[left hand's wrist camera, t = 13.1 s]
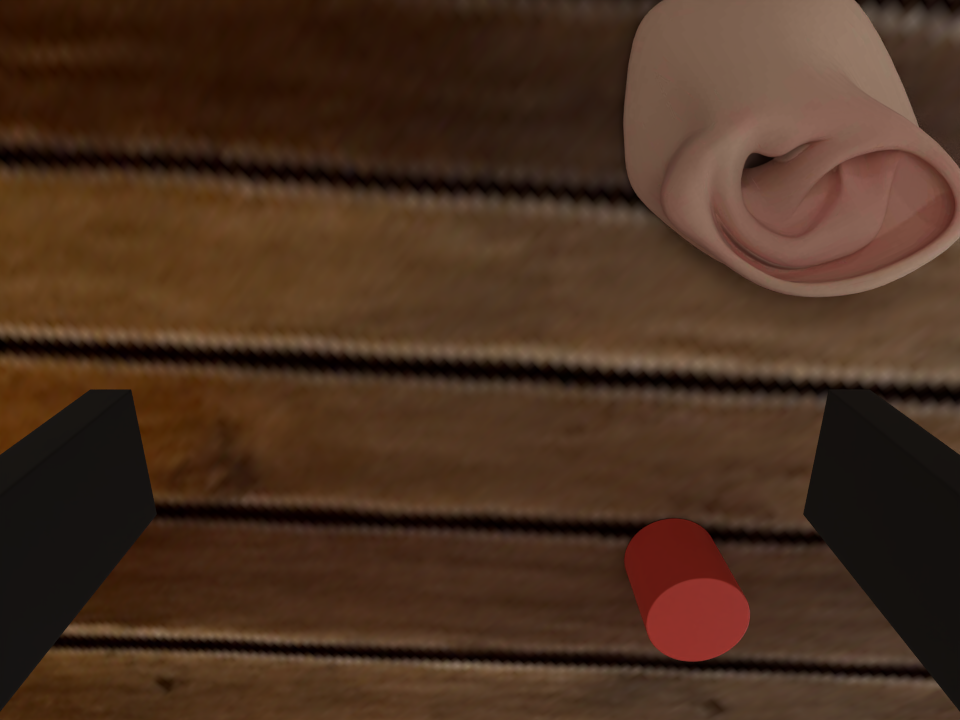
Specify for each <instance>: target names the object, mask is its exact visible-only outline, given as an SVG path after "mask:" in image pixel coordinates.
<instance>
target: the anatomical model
mask: <svg viewBox="0 0 960 720" xmlns="http://www.w3.org/2000/svg"><path fill="white" fill-rule="evenodd" d="M623 129H624V149H625V163H626V170H627V174H628V178H629V181H630V183H631V186H632V188H633V190H634V191H635V193H636V194H637V196H638V197H639V198H640V199H641V201H642V202H643V203H644V204H645V205H646V206H647V207H648V208H649V209H650V210H651V211H652V212H653V213H654V214H655V215H656V216H658V217H659V218H660V219H661V220H662V221H663V222H664V223H665V224H667V225H668V226H669V227H670V228H672V229H673V230H674V231H675V232H677V233H678V234H679V235H680V236H682V237H683V238H684V239H685V240H687V241H688V242H690V243H691V244H692V245H694V246H695V247H696V248H698V249H699V250H701V251H702V252H704V253H705V254H707V255H709V256H710V257H712V258H713V259H715V260H717V261H719V262H721V263H723V264H725V265H726V266H728V267H729V268H730V269H732V270H733V271H735V272H736V273H738V274H740V275H741V276H743V277H744V278H746V279H748V280H749V281H751V282H753V283H755V284H757V285H759V286H762V287H764V288H766V289H769V290H772V291H775V292H778V293H783V294H787V295H793V296H802V297H831V296H841V295H848V294H854V293H859V292H863V291H867V290H871V289H874V288H877V287H880V286H883V285H885V284H888V283H890V282H892V281H894V280H897V279H899V278H901V277H903V276H905V275H907V274H909V273H911V272H913V271H915V270H916V269H918V268H920V267H921V266H923V265H925V264H926V263H928V262H929V261H931V260H933V259H934V258H936V257H937V256H938V255H940V254H941V253H942V252H944V251H945V250H947V249H948V248H949V247H950V246H951V245H952V244H953V243H954V242H955V241H956V240H957V239H958V238H959V237H960V169H959V167H958V166H957V164H956V163H955V162H954V161H953V159H952V158H951V157H950V156H949V155H948V154H947V153H946V152H945V151H944V150H943V148H942V147H941V146H940V145H939V144H938V143H937V142H936V141H935V140H933V139H932V138H931V137H930V136H929V135H928V134H926V133H925V132H924V131H923V130H922V129H920V128H919V126H918V123H917V120H916V118H915V115H914V112H913V110H912V107H911V105H910V102H909V99H908V97H907V94H906V92H905V89H904V87H903V84H902V82H901V80H900V78H899V76H898V73H897V71H896V69H895V67H894V64H893V62H892V60H891V58H890V56H889V54H888V52H887V50H886V48H885V46H884V44H883V42H882V40H881V38H880V36H879V35H878V33H877V31H876V30H875V28H874V26H873V25H872V23H871V21H870V20H869V18H868V17H867V15H866V14H865V13H864V11H863V10H862V9H861V7H860V6H859V5H858V4H857V3H856V1H855V0H663V1H661V2H660V3H658V4H657V5H656V6H654V7H653V8H652V9H651V10H650V11H649V12H648V13H647V14H646V15H645V17H644V18H643V20H642V21H641V23H640V25H639V27H638V29H637V31H636V34H635V37H634V40H633V44H632V49H631V54H630V59H629V64H628V73H627V83H626V93H625V103H624V118H623Z"/></svg>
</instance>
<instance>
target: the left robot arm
mask: <svg viewBox="0 0 960 720" xmlns="http://www.w3.org/2000/svg"><path fill="white" fill-rule="evenodd" d="M156 515H157V513H156V509H155V504H154V499H153V494H152V489H151V484H150V479H149V474H148V469H147V465H146V460H145V455H144V450H143V445H142V440H141V435H140V430H139V426H138V421H137V416H136V411H135V406H134V401H133V396H132V391H131V390H89V391H88V392H86V393H85V394H84V395H82V396H81V397H80V398H78V399H77V400H75V401H74V402H73V403H71V404H70V405H69V406H67V407H66V408H64V409H63V410H62V411H60V412H59V413H57V414H56V415H55V416H53V417H52V418H51V419H49V420H48V421H46V422H45V423H44V424H42V425H41V426H40V427H38V428H37V429H35V430H34V431H33V432H31V433H30V434H29V435H27V436H26V437H24V438H23V439H22V440H20V441H19V442H17V443H16V444H15V445H13V446H12V447H11V448H9V449H8V450H6V451H5V452H4V453H2V454H1V455H0V711H1V710H2V708H3V707H4V706H5V705H6V703H7V702H8V701H9V700H10V698H11V697H12V696H13V695H14V693H15V692H16V691H17V690H18V688H19V687H20V686H21V685H22V683H23V682H24V681H25V680H26V678H27V677H28V676H29V674H30V673H31V672H32V671H33V669H34V668H35V667H36V666H37V664H38V663H39V662H40V661H41V659H42V658H43V657H44V656H45V654H46V653H47V652H48V651H49V649H50V648H51V647H52V646H53V644H54V643H55V642H56V640H57V639H58V638H59V637H60V635H61V634H62V633H63V632H64V630H65V629H66V628H67V627H68V625H69V624H70V623H71V622H72V620H73V619H74V618H75V617H76V615H77V614H78V613H79V612H80V610H81V609H82V608H83V606H84V605H85V604H86V603H87V601H88V600H89V599H90V598H91V596H92V595H93V594H94V593H95V591H96V590H97V589H98V588H99V586H100V585H101V584H102V583H103V581H104V580H105V579H106V578H107V576H108V575H109V574H110V572H111V571H112V570H113V569H114V567H115V566H116V565H117V564H118V562H119V561H120V560H121V559H122V557H123V556H124V555H125V554H126V552H127V551H128V550H129V549H130V547H131V546H132V545H133V544H134V542H135V541H136V540H137V538H138V537H139V536H140V535H141V533H142V532H143V531H144V530H145V528H146V527H147V526H148V525H149V523H150V522H151V521H152V520H153V518H154V517H155V516H156ZM803 515H804V516H805V517H806V518H807V520H808V521H809V522H810V523H811V525H812V526H813V527H814V528H815V530H816V531H817V532H818V533H819V535H820V536H821V537H822V538H823V540H824V541H825V542H826V544H827V545H828V546H829V547H830V549H831V550H832V551H833V552H834V554H835V555H836V556H837V557H838V559H839V560H840V561H841V562H842V564H843V565H844V566H845V567H846V569H847V570H848V571H849V572H850V574H851V575H852V576H853V578H854V579H855V580H856V581H857V583H858V584H859V585H860V586H861V588H862V589H863V590H864V591H865V593H866V594H867V595H868V596H869V598H870V599H871V600H872V601H873V603H874V604H875V605H876V606H877V608H878V609H879V610H880V612H881V613H882V614H883V615H884V617H885V618H886V619H887V620H888V622H889V623H890V624H891V625H892V627H893V628H894V629H895V630H896V632H897V633H898V634H899V635H900V637H901V638H902V639H903V640H904V642H905V643H906V644H907V646H908V647H909V648H910V649H911V651H912V652H913V653H914V654H915V656H916V657H917V658H918V659H919V661H920V662H921V663H922V664H923V666H924V667H925V668H926V669H927V671H928V672H929V673H930V674H931V676H932V677H933V678H934V680H935V681H936V682H937V683H938V685H939V686H940V687H941V688H942V690H943V691H944V692H945V693H946V695H947V696H948V697H949V698H950V700H951V701H952V702H953V703H954V705H955V706H956V707H957V708H958V710H959V711H960V455H959V454H958V453H956V452H955V451H954V450H952V449H951V448H949V447H948V446H947V445H945V444H944V443H943V442H941V441H940V440H938V439H937V438H936V437H934V436H933V435H931V434H930V433H929V432H927V431H926V430H925V429H923V428H922V427H920V426H919V425H918V424H916V423H915V422H914V421H912V420H911V419H909V418H908V417H907V416H905V415H904V414H903V413H901V412H900V411H898V410H897V409H896V408H894V407H893V406H891V405H890V404H889V403H887V402H886V401H885V400H883V399H882V398H880V397H879V396H878V395H876V394H875V393H874V392H872V391H871V390H829V391H828V396H827V401H826V406H825V411H824V416H823V421H822V425H821V430H820V435H819V440H818V445H817V450H816V455H815V460H814V465H813V469H812V474H811V479H810V484H809V489H808V494H807V499H806V504H805V509H804V513H803Z"/></svg>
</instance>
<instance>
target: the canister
mask: <svg viewBox="0 0 960 720" xmlns="http://www.w3.org/2000/svg"><path fill="white" fill-rule="evenodd" d="M624 562H625V569H626V572H627V575H628V578H629V581H630V584H631V587H632V590H633V593H634V596H635V598H636V601H637V604H638V607H639V610H640V613H641V616H642V619H643V622H644V625H645V628H646V631H647V634H648V637H649V639H650V641H651V642H652V644H653V645H654V646H655V647H656V648H657V649H658V650H659V651H660V652H662V653H663V654H665V655H667V656H669V657H671V658H674V659H677V660H682V661H702V660H708V659H711V658H714V657H717V656H719V655H721V654H723V653H725V652H727V651H728V650H730V649H731V648H732V647H734V646H735V645H736V644H737V643H738V642H739V641H740V640H741V638H742V637H743V636H744V634H745V632H746V630H747V628H748V625H749V620H750V608H749V605H748V602H747V600H746V598H745V596H744V594H743V592H742V591H741V589H740V587H739V585H738V584H737V582H736V580H735V578H734V576H733V575H732V573H731V571H730V569H729V568H728V566H727V564H726V562H725V561H724V559H723V557H722V555H721V554H720V552H719V550H718V548H717V547H716V545H715V543H714V541H713V539H712V538H711V536H710V535H709V533H708V532H707V531H706V530H705V529H704V528H702V527H701V526H700V525H698V524H696V523H694V522H691V521H688V520H685V519H674V518H672V519H664V520H660V521H656V522H654V523H651V524H649V525H647V526H646V527H644V528H643V529H641V530H640V531H639V532H638V533H637V534H636V535H635V536H634V537H633V538H632V539H631V541H630V543H629V544H628V547H627V549H626V552H625V558H624Z"/></svg>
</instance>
